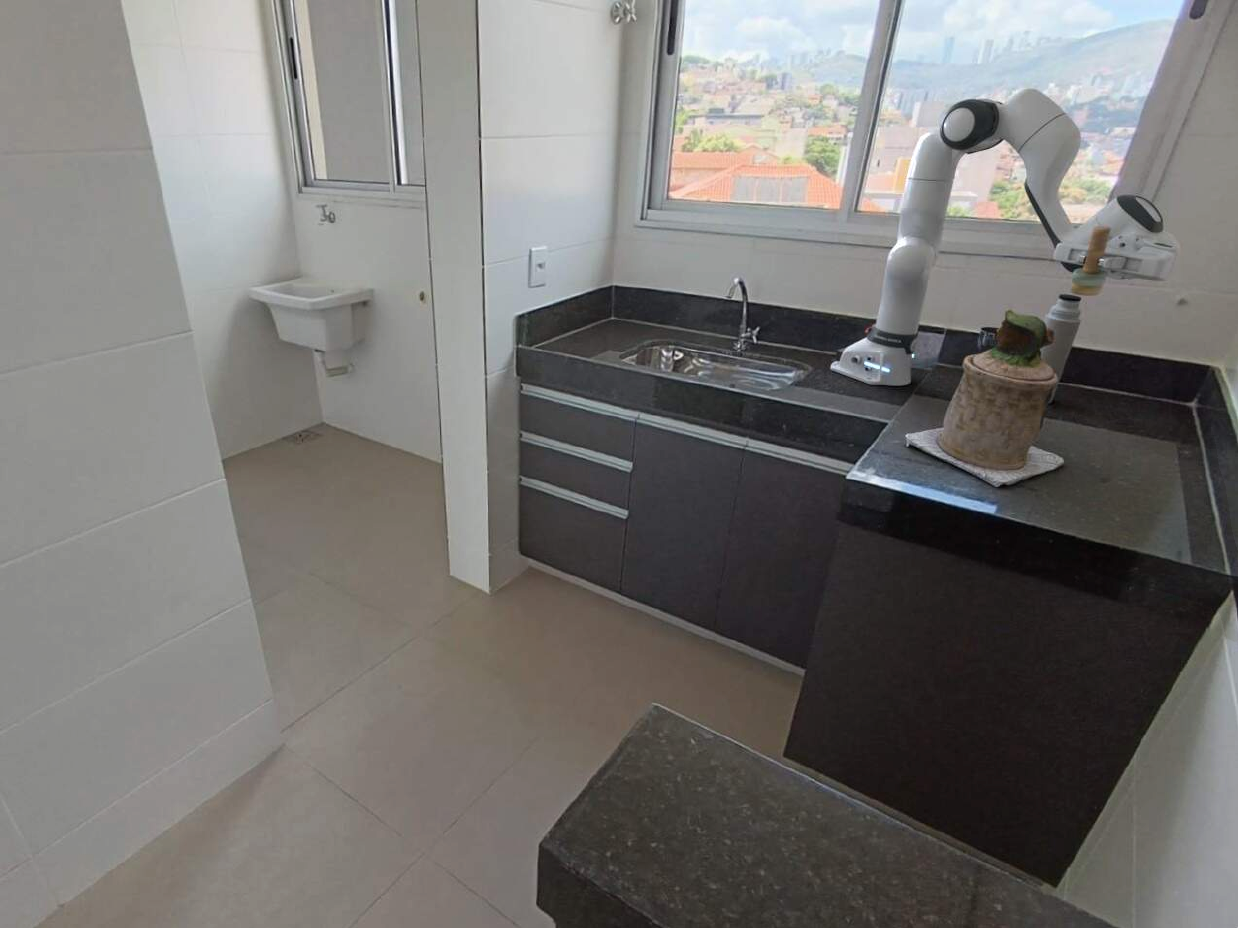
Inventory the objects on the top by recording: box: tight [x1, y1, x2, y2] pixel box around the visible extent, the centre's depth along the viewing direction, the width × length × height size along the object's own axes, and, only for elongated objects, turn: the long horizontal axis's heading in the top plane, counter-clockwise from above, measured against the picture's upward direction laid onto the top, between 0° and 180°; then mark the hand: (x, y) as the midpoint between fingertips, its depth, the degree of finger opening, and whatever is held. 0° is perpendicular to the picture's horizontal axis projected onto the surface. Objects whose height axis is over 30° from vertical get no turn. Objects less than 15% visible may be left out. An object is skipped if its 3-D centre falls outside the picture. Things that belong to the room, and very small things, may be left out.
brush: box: [1069, 226, 1111, 297], centre depth 133 cm, size 6×6×12 cm
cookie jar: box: [904, 308, 1065, 488], centre depth 143 cm, size 25×25×32 cm
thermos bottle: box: [1040, 293, 1082, 404], centre depth 179 cm, size 8×8×28 cm
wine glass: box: [977, 326, 1000, 354], centre depth 192 cm, size 8×8×15 cm
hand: (1091, 261), depth 132 cm, fingers closed on brush, 3 cm apart
